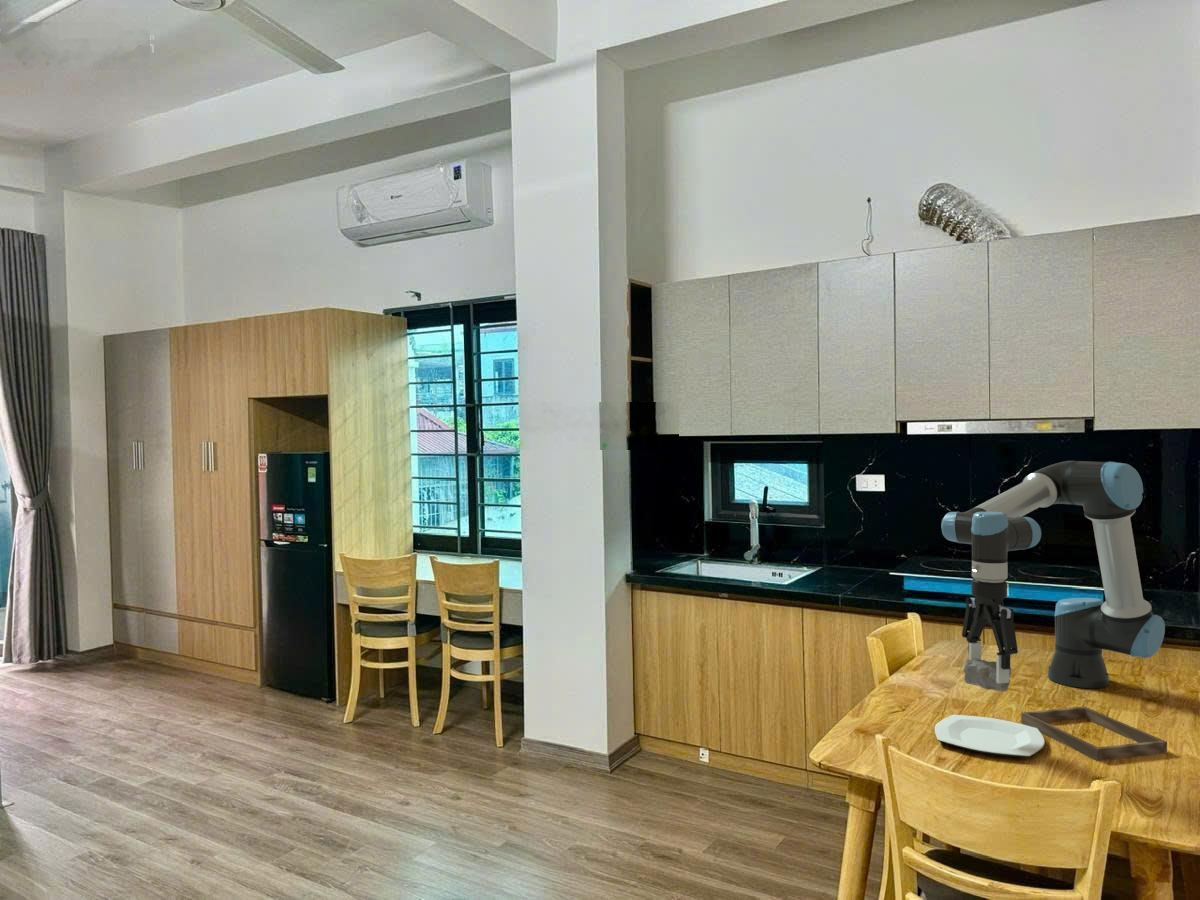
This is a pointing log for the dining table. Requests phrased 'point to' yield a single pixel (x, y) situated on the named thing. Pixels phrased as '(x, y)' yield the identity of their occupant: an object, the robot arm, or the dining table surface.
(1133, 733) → the empty rectangular frame
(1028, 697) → the dining table surface
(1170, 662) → the dining table surface
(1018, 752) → the plate
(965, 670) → the stone
